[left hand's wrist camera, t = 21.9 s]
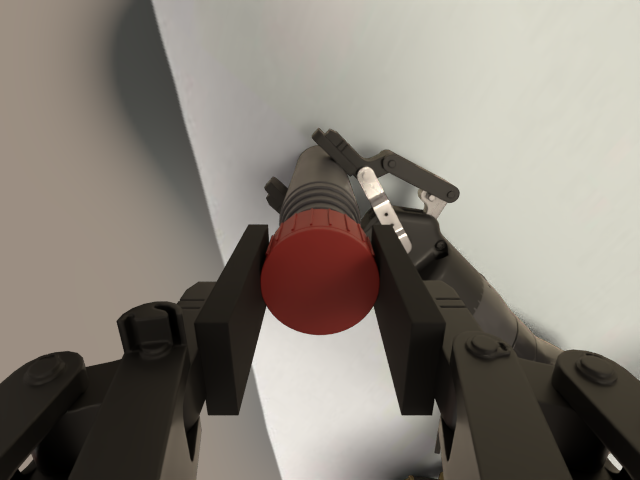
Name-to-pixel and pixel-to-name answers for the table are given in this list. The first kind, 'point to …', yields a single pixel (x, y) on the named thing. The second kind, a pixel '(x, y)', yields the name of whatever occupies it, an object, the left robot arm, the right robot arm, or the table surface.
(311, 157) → the bottle
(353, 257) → the cap
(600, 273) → the table surface
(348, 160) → the right robot arm
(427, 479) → the spray gun
